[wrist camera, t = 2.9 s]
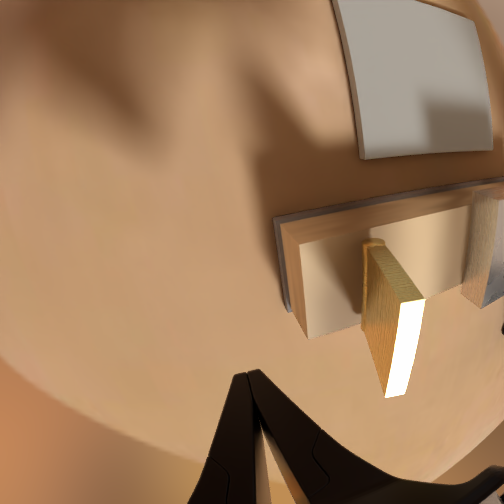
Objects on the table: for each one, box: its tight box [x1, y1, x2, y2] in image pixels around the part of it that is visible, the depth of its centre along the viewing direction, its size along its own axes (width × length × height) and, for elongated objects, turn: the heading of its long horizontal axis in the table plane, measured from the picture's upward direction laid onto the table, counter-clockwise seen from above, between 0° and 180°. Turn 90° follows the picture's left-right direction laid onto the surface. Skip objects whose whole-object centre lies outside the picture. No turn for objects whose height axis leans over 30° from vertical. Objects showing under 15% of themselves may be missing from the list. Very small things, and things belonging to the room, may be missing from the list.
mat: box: [332, 0, 493, 160], centre depth 13 cm, size 12×10×1 cm
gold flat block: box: [361, 238, 425, 398], centre depth 11 cm, size 1×4×5 cm, turn 10°
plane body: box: [273, 177, 504, 340], centre depth 16 cm, size 20×5×4 cm, turn 99°
